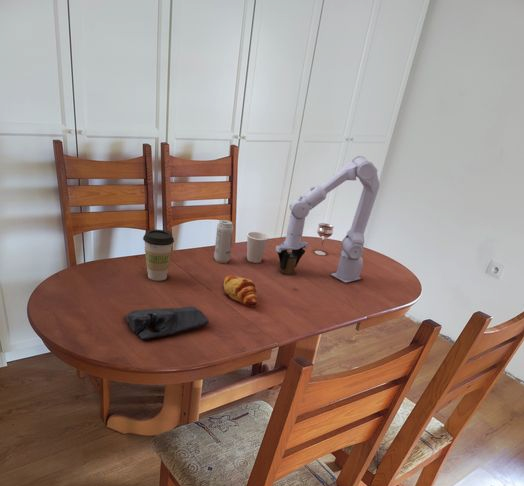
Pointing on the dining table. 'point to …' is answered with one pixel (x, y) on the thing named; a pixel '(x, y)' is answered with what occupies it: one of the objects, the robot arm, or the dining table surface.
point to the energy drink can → (223, 241)
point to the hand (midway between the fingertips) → (288, 267)
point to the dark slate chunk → (165, 321)
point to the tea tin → (290, 264)
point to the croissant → (241, 290)
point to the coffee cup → (158, 253)
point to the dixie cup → (256, 246)
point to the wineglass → (324, 234)
